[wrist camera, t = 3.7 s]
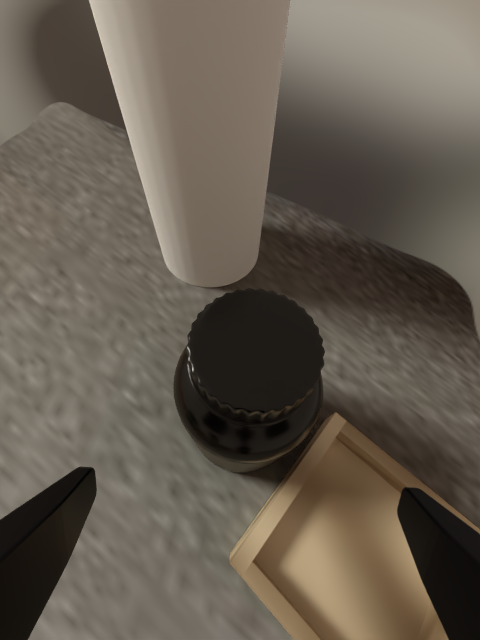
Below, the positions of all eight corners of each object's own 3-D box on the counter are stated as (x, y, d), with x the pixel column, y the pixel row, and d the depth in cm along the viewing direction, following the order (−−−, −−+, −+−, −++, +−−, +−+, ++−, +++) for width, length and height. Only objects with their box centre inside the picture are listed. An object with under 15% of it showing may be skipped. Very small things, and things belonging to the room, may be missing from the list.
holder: (389, 741, 13) (417, 786, 11) (229, 553, 16) (229, 563, 14) (466, 536, 17) (496, 542, 15) (325, 419, 20) (335, 412, 18)
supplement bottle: (295, 471, 18) (383, 454, 8) (190, 474, 18) (136, 462, 8) (283, 370, 22) (333, 266, 11) (195, 372, 21) (163, 267, 11)
